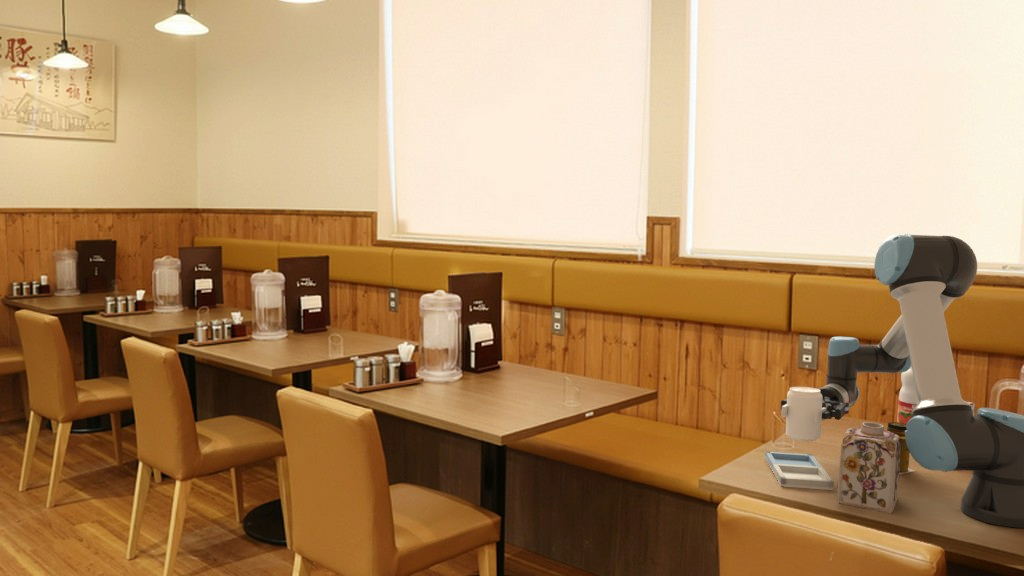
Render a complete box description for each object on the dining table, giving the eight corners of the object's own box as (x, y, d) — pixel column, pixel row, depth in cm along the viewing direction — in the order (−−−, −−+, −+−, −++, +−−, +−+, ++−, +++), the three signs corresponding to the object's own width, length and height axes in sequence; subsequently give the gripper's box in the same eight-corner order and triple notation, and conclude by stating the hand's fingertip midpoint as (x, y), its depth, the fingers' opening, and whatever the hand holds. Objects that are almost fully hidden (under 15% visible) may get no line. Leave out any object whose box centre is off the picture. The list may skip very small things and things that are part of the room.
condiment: (915, 471, 214) (919, 425, 213) (896, 476, 210) (900, 429, 209) (889, 463, 220) (892, 419, 219) (870, 468, 216) (873, 423, 215)
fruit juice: (932, 440, 245) (939, 347, 243) (929, 448, 237) (937, 351, 235) (897, 435, 250) (904, 343, 248) (893, 442, 242) (900, 347, 240)
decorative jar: (844, 489, 197) (849, 415, 196) (897, 499, 192) (903, 423, 190) (835, 504, 187) (841, 425, 185) (892, 514, 181) (898, 434, 180)
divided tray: (833, 490, 197) (833, 481, 196) (780, 486, 198) (781, 478, 198) (811, 462, 219) (812, 454, 219) (764, 458, 221) (765, 451, 221)
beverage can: (826, 438, 202) (828, 389, 201) (811, 444, 196) (813, 394, 196) (794, 432, 208) (796, 385, 207) (779, 437, 202) (781, 389, 201)
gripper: (868, 421, 210) (841, 437, 192) (790, 408, 222) (757, 423, 204) (870, 392, 209) (843, 405, 191) (791, 380, 222) (759, 393, 203)
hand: (799, 414), depth 198 cm, fingers closed on beverage can, 7 cm apart
